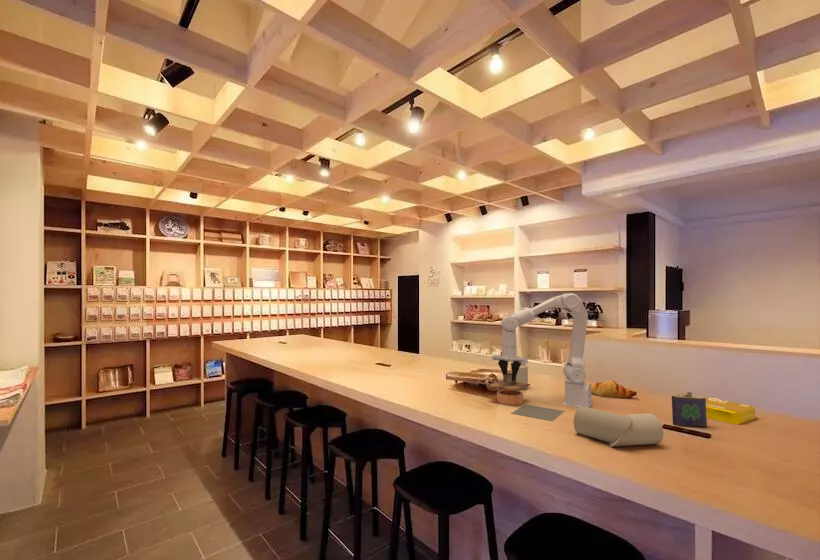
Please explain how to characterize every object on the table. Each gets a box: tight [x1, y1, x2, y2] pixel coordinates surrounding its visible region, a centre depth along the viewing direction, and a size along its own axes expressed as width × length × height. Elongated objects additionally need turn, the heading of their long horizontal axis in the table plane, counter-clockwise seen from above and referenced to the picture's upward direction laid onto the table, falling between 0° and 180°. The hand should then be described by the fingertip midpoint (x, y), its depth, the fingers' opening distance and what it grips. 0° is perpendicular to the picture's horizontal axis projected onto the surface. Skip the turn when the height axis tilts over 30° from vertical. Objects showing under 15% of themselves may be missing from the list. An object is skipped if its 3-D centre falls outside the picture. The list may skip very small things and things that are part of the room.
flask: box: [671, 390, 708, 429], centre depth 128 cm, size 10×3×12 cm, turn 78°
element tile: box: [705, 397, 756, 425], centre depth 139 cm, size 15×15×5 cm
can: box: [510, 363, 529, 391], centre depth 182 cm, size 8×8×12 cm
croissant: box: [589, 379, 637, 399], centre depth 168 cm, size 21×10×8 cm, turn 54°
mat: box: [510, 404, 565, 422], centre depth 142 cm, size 15×15×1 cm
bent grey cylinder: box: [573, 407, 664, 448], centre depth 116 cm, size 18×10×20 cm
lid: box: [488, 372, 531, 392], centre depth 157 cm, size 12×12×5 cm
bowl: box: [496, 389, 524, 406], centre depth 157 cm, size 10×10×4 cm
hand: (509, 379), depth 158 cm, fingers closed on lid, 3 cm apart
